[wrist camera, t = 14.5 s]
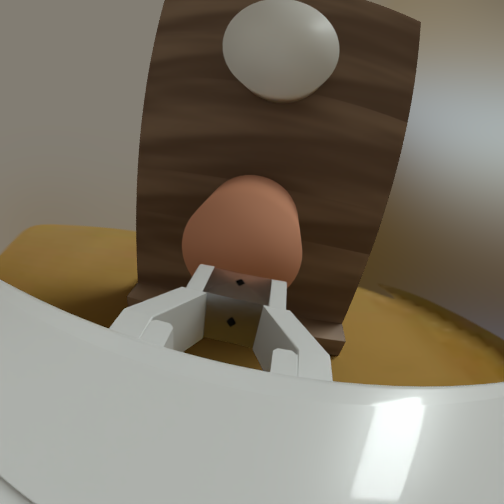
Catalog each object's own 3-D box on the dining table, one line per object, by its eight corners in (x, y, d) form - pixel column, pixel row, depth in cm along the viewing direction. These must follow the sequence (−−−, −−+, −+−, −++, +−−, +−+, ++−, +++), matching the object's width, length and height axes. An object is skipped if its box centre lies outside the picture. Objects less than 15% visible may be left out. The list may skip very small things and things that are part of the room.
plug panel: (338, 355, 19) (434, 13, 9) (128, 312, 20) (159, -32, 9) (329, 307, 25) (399, 35, 14) (157, 273, 25) (189, -1, 14)
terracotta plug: (286, 313, 13) (315, 208, 10) (179, 291, 13) (186, 184, 11) (286, 231, 22) (300, 167, 19) (222, 218, 22) (231, 154, 19)
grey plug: (329, 108, 11) (345, 11, 8) (214, 88, 11) (233, -7, 8) (309, 114, 19) (319, 56, 17) (244, 102, 20) (255, 45, 17)
